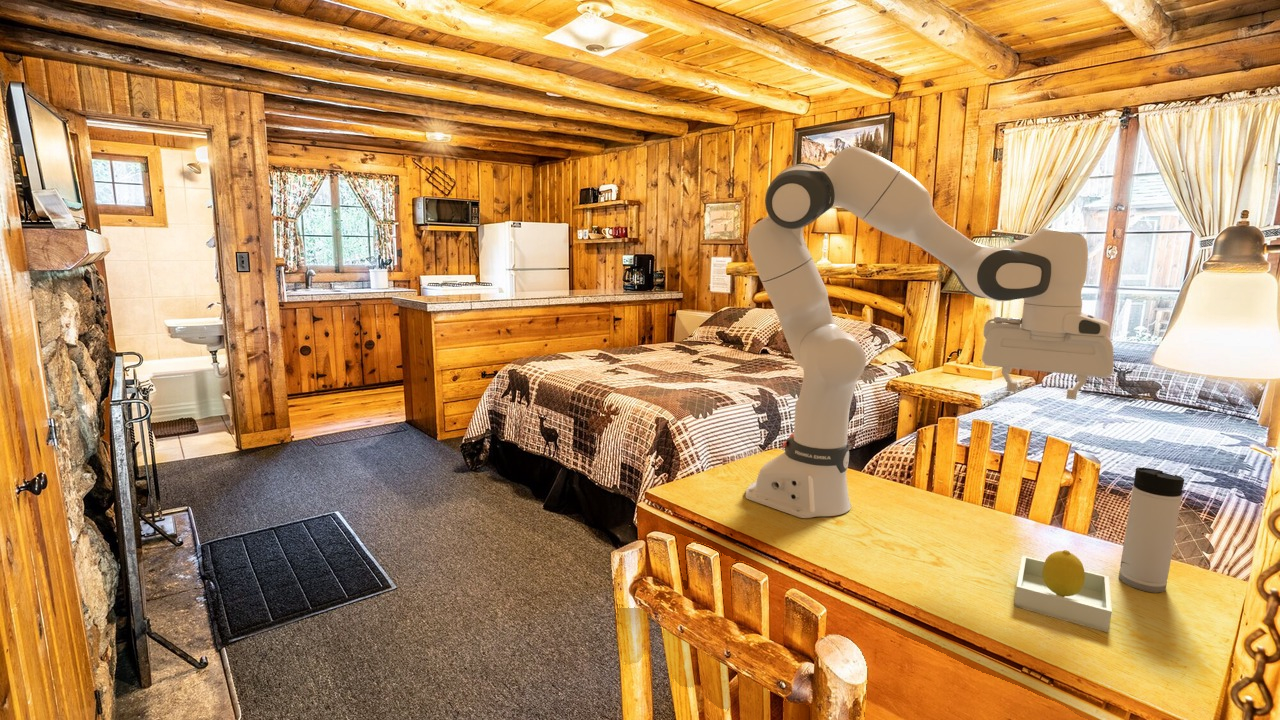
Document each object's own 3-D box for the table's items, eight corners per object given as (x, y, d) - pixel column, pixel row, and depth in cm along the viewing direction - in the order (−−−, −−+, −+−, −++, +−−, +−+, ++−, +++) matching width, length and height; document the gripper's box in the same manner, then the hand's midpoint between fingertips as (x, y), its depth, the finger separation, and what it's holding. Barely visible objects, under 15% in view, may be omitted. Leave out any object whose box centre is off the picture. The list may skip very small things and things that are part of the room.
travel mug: (1109, 578, 107) (1126, 466, 104) (1132, 570, 110) (1149, 461, 106) (1150, 597, 102) (1170, 479, 98) (1174, 588, 105) (1194, 473, 101)
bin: (1014, 606, 99) (1016, 586, 99) (1020, 573, 109) (1022, 555, 108) (1108, 632, 93) (1111, 611, 92) (1105, 595, 102) (1108, 576, 102)
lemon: (1088, 608, 97) (1094, 561, 96) (1048, 604, 99) (1054, 557, 97) (1071, 589, 103) (1077, 544, 101) (1034, 586, 104) (1039, 541, 102)
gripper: (983, 317, 117) (975, 390, 120) (1120, 327, 106) (1108, 406, 108) (987, 314, 122) (979, 384, 125) (1118, 323, 111) (1107, 399, 113)
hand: (1040, 394), depth 117 cm, fingers open, 8 cm apart
